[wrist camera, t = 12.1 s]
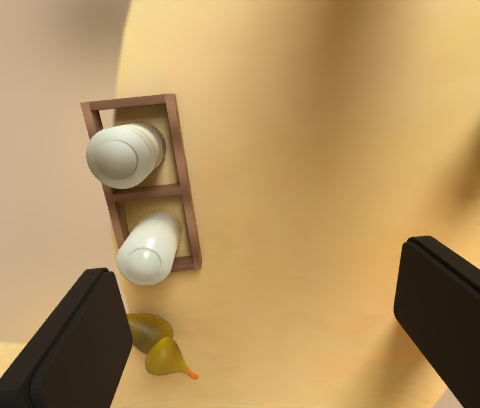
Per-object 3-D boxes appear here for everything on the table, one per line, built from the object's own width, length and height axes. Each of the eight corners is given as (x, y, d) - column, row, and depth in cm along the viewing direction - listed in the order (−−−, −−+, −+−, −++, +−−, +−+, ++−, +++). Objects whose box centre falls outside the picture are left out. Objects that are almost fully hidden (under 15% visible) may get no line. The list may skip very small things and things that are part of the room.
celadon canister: (134, 211, 34) (107, 245, 26) (177, 206, 34) (165, 238, 26) (143, 250, 36) (120, 293, 27) (185, 244, 36) (175, 286, 28)
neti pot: (191, 357, 42) (187, 401, 36) (99, 307, 38) (76, 346, 32) (209, 338, 41) (208, 379, 35) (117, 285, 37) (97, 320, 31)
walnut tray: (88, 103, 30) (38, 101, 22) (175, 94, 30) (158, 89, 22) (131, 268, 36) (106, 316, 28) (202, 260, 37) (197, 305, 28)
